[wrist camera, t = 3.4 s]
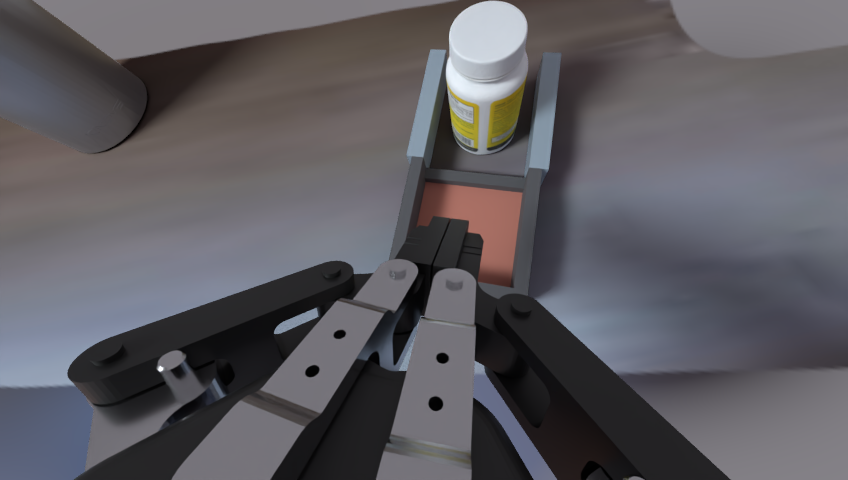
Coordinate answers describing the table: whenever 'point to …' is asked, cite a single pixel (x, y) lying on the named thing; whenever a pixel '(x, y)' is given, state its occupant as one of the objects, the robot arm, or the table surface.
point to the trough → (540, 120)
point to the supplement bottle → (486, 75)
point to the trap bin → (478, 218)
